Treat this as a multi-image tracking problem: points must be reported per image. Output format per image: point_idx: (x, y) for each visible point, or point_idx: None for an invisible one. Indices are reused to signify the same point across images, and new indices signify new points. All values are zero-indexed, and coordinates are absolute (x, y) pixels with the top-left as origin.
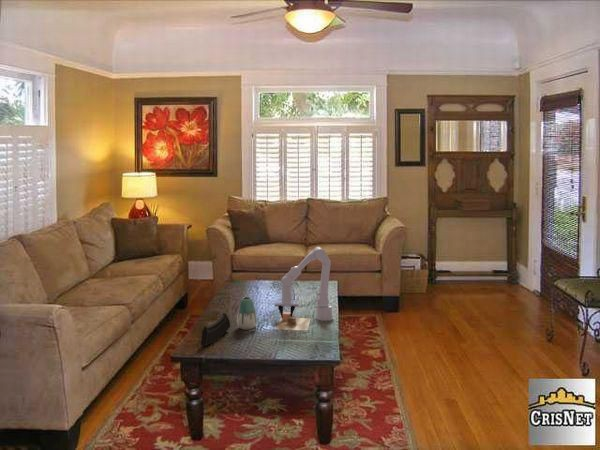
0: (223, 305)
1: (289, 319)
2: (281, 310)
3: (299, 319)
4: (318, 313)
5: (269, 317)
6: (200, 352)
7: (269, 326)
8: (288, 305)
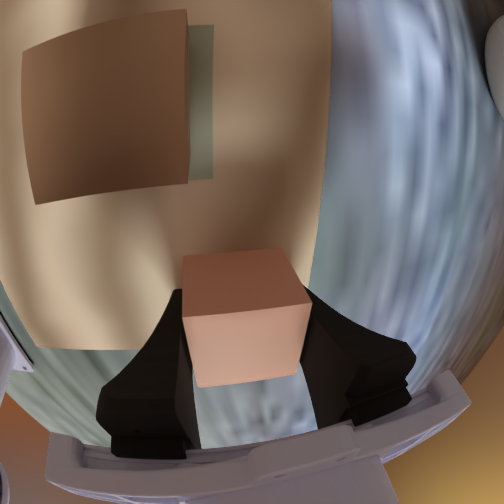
0: (462, 372)
1: (138, 21)
2: (350, 343)
3: (99, 312)
4: None
5: (375, 329)
6: None
7: (400, 76)
8: (234, 468)
